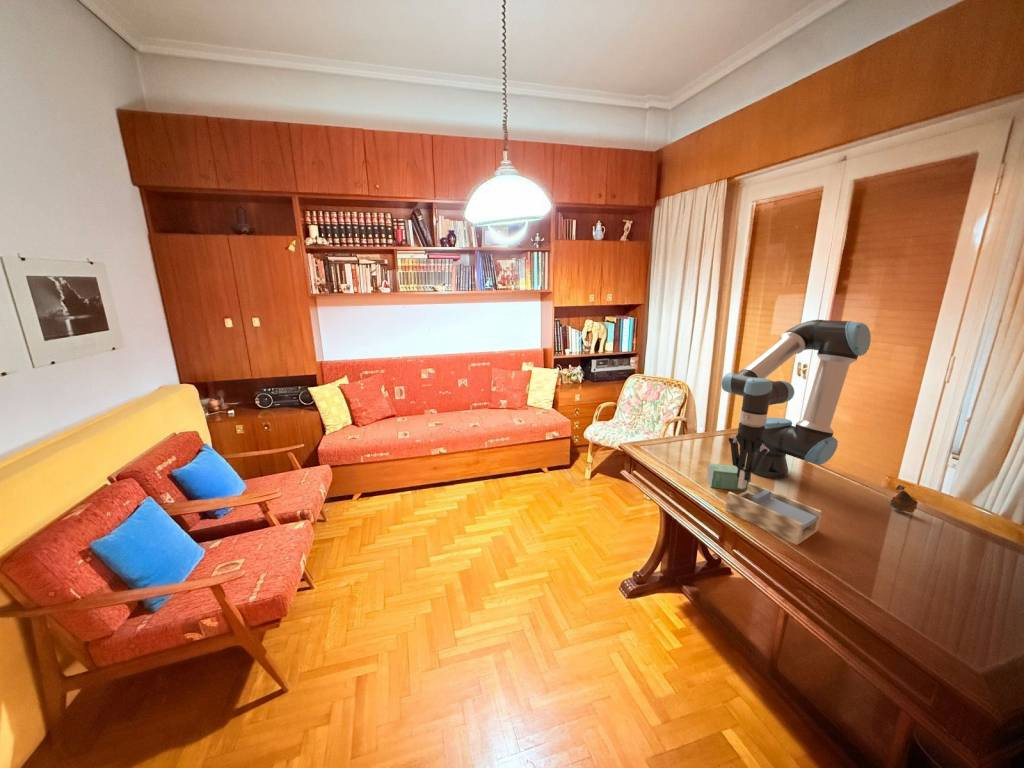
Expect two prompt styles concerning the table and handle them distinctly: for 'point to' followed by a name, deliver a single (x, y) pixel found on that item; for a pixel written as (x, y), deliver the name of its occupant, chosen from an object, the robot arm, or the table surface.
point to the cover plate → (784, 508)
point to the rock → (903, 501)
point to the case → (771, 514)
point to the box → (724, 477)
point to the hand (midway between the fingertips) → (741, 487)
